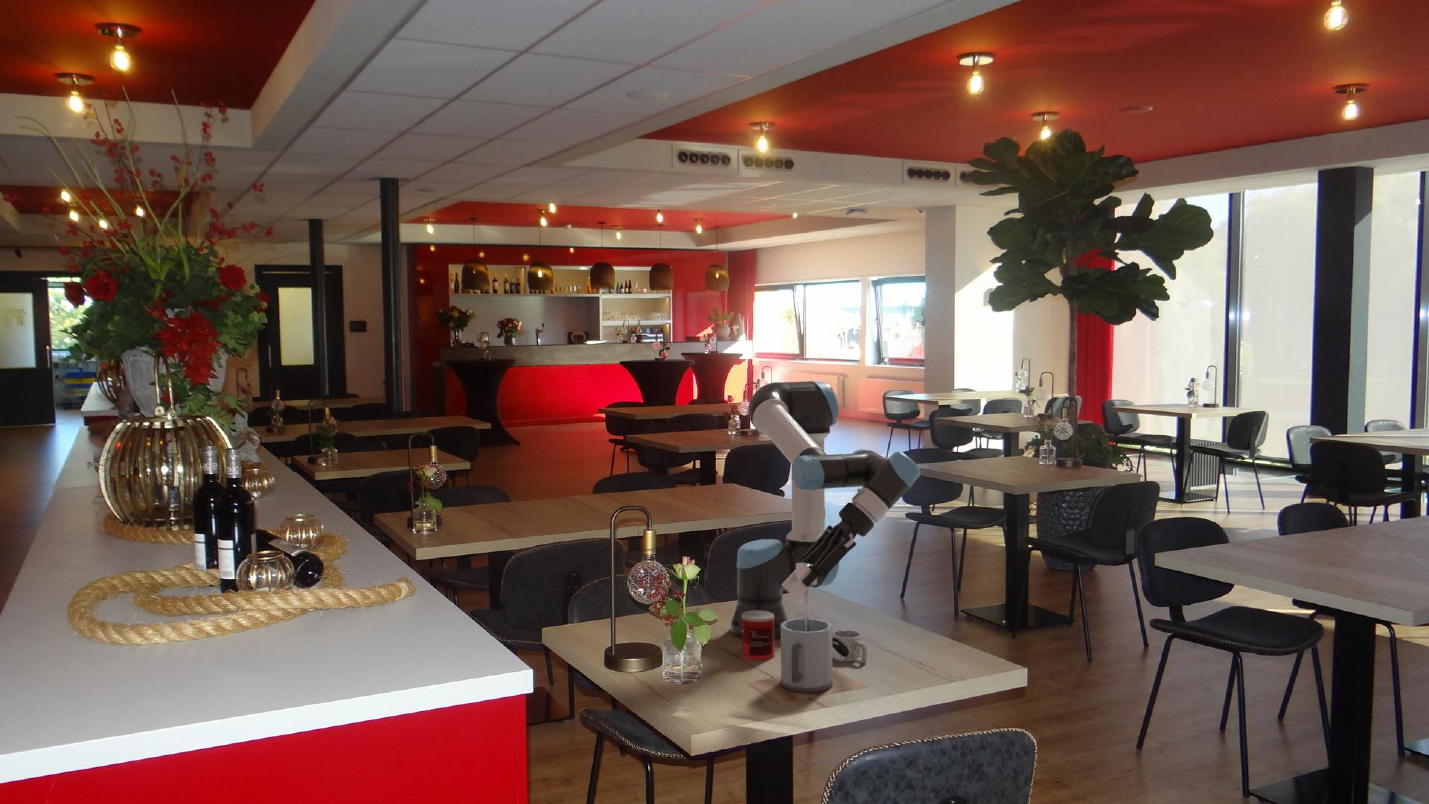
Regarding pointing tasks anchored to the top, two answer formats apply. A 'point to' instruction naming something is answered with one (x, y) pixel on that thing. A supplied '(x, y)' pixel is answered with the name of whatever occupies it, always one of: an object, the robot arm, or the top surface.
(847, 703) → the top surface
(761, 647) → the canned food
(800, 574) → the plunger
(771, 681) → the serving board
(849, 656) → the mug
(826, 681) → the grey cup
